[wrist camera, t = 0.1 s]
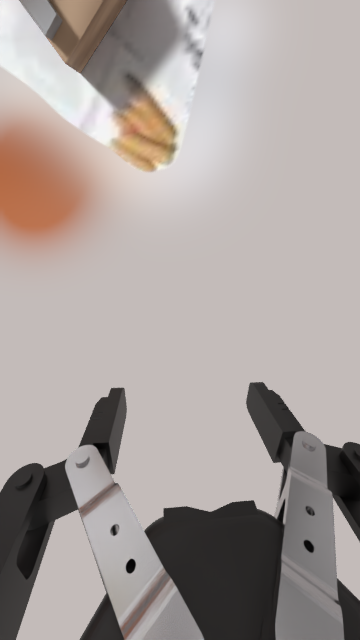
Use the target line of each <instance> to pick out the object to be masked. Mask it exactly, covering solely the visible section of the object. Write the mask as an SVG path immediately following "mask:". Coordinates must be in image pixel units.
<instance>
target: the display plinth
mask: <svg viewBox="0 0 360 640" xmlns="http://www.w3.org/2000/svg"><path fill="white" fill-rule="evenodd" d="M19 1H20V2H21V3H22V5H23V6H24V8H25V9H26V10H27V12H28V13H29V14H30V16H31V17H32V18H33V20H34V21H35V23H36V24H37V25H38V27H39V28H40V29H41V31H42V32H43V34H44V35H45V36H46V38H47V39H48V40H49V42H50V43H51V44H52V46H53V47H54V49H55V50H56V51H57V53H58V54H59V55H60V57H61V58H62V60H63V61H64V62H65V64H67V65H68V66H70V67H71V68H73V69H74V70H76V71H77V72H79V73H81V72H82V70H83V69H84V67H85V65H86V64H87V62H88V61H89V59H90V58H91V56H92V55H93V53H94V51H95V50H96V48H97V47H98V45H99V44H100V42H101V40H102V39H103V37H104V36H105V34H106V33H107V31H108V30H109V28H110V26H111V25H112V23H113V22H114V20H115V19H116V17H117V16H118V14H119V12H120V11H121V9H122V8H123V6H124V5H125V3H126V1H127V0H19Z"/></svg>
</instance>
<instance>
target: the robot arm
mask: <svg viewBox="0 0 360 640" xmlns="http://www.w3.org/2000/svg"><path fill="white" fill-rule="evenodd" d="M246 404H247V409H248V412H249V413H250V416H251V418H252V420H253V422H254V424H255V426H256V428H257V430H258V432H259V434H260V436H261V438H262V440H263V442H264V444H265V446H266V448H267V450H268V453H269V455H270V457H271V459H272V461H273V462H274V463H276V462H281V463H282V465H283V470H282V476H281V483H280V490H279V495H278V502H277V507H276V512H275V515H274V517H273V516H272V515H270V514H268V513H266V512H264V511H262V510H259V509H257V508H256V506H255V503H254V501H241V502H232V503H230V504H227V505H226V506H223V507H221V508H219V509H217V510H215V511H212V512H208V511H204V510H199V509H194V508H190V507H187V506H186V507H176V508H164V517H162V518H160V519H158V520H156V521H155V522H153V523H152V524H151V525H150V526H149V527H147V529H146V530H145V531H144V530H143V528H142V527H141V525H140V523H139V521H138V519H137V517H136V515H135V513H134V512H133V510H132V508H131V506H130V504H129V502H128V500H127V498H126V497H125V495H124V493H123V491H122V490H121V487H120V486H119V484H118V483H115V482H114V480H113V478H112V476H111V474H114V473H115V468H116V463H117V459H118V454H119V449H120V444H121V439H122V434H123V429H124V424H125V419H126V410H127V408H126V398H125V390H124V388H111V390H110V393H109V396H108V397H103V398H101V399H100V400H99V401H98V402H97V403H96V405H95V408H94V410H93V413H92V415H91V417H90V420H89V423H88V425H87V427H86V430H85V433H84V435H83V438H82V440H81V443H80V445H79V447H78V448H77V449H76V450H74V451H73V452H72V453H71V454H70V455H69V457H68V458H67V459H66V460H65V461H62V462H60V463H57V464H55V465H52V466H49V467H47V468H43V466H42V465H41V464H38V463H32V464H28V465H26V466H24V467H22V468H20V469H19V470H17V471H16V472H15V473H14V474H13V475H12V476H11V477H10V478H9V479H8V480H7V482H6V483H5V485H4V487H3V489H2V490H1V492H0V640H16V637H17V634H18V631H19V628H20V625H21V622H22V619H23V616H24V613H25V610H26V607H27V604H28V601H29V598H30V594H31V592H32V588H33V585H34V582H35V580H36V576H37V574H38V570H39V567H40V564H41V561H42V558H43V555H44V552H45V549H46V546H47V543H48V540H49V537H50V534H51V531H52V528H53V525H54V522H55V520H56V519H58V518H60V517H62V516H65V515H67V514H69V513H71V512H73V511H75V510H79V513H80V516H81V519H82V522H83V525H84V527H85V531H86V533H87V536H88V539H89V542H90V545H91V548H92V551H93V554H94V557H95V560H96V563H97V566H98V569H99V572H100V575H101V578H102V581H103V584H104V587H105V590H106V595H105V597H104V598H103V600H102V602H101V604H100V605H99V607H98V609H97V610H96V612H95V614H94V616H93V617H92V619H91V621H90V623H89V624H88V626H87V628H86V630H85V631H84V633H83V635H82V636H81V638H80V640H360V601H359V600H358V599H357V598H356V597H355V596H354V595H353V594H352V593H351V592H350V591H349V590H348V589H347V588H346V587H345V586H344V585H343V584H342V583H341V582H340V581H339V580H338V579H337V575H336V574H337V573H336V554H335V535H334V515H333V498H334V499H335V501H336V503H337V505H338V506H339V508H340V510H341V511H342V513H343V515H344V516H345V518H346V519H347V521H348V523H349V525H350V526H351V528H352V530H353V531H354V533H355V534H356V536H357V538H358V539H359V541H360V444H357V443H353V442H348V443H345V444H344V446H343V448H338V447H334V446H329V445H325V444H323V443H322V442H321V441H320V440H319V439H318V438H317V437H316V436H314V435H313V434H311V433H308V432H305V431H304V429H303V428H302V426H301V425H300V423H299V422H298V421H297V419H296V418H295V417H294V415H293V414H292V412H291V411H290V410H289V409H288V407H287V406H286V404H284V402H283V400H282V399H281V398H280V396H279V395H278V394H276V393H275V392H274V391H272V390H268V389H267V387H266V386H265V384H264V383H263V382H256V383H250V385H249V391H248V395H247V401H246ZM332 496H333V497H332Z"/></svg>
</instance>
